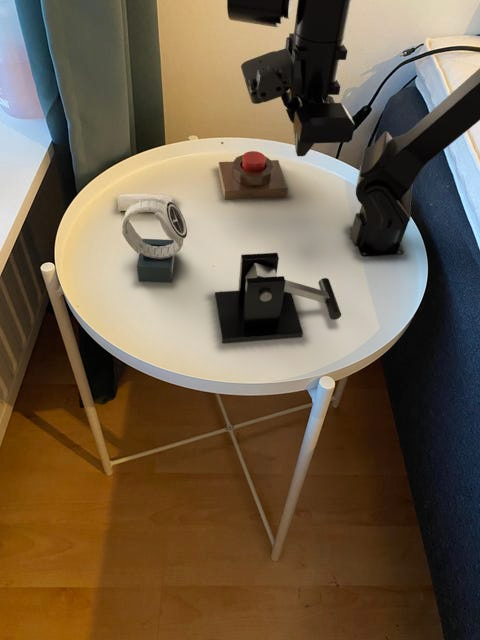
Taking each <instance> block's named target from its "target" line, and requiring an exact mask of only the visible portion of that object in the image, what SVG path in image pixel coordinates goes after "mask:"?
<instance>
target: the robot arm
mask: <svg viewBox="0 0 480 640" xmlns="http://www.w3.org/2000/svg"><path fill="white" fill-rule="evenodd" d="M226 1H227V2H226V9H227V16H228V19H229V20H230V21H234V22H240V23H246V24H247V23H248V24H252V25H259V26H266V27H272V28H279V27H280V25H281V24H282V21H283V18H284V19H286V20H287V19H288V20H289V19H291V17H292V13H293V9H294V4H295V0H226ZM351 4H352V0H297V4H296V5H297V6H296V14H295V21H294V22H295V23H294V30H293V33H288V34H289V35H288V37H287V36H286V39H285V46H284V48H282V49H278V50H275V51H273V50H272V51H270V52H267V53H264V54H261V55H259V56H257V57H254V58H251V59H248V60H246V61H244V62H243V63H241V65H240V69H241V72H242V76H243V79H244V82H245V86H246V89H247V92H248V95H249V98H250V102H251V103H252V104H255V105H259V104H262V103H267V102H270V101H273V100H276V99H278V98H280V99H281V101H282V103H283V106H284V107H285V108H286V109H285V111H286V114H287V117H288V119H289V121H290V123H292V129H293V138H294V149H295V154H296V156H297V157H305V156H306V155H307V154H308V152H309V151H310V150H311V149H312V147H314V145H315V144H341V143H350V142H351V141H352V140H353V136H354V131H355V129H356V128H355V127H356V124H355V122H354V120H353V118H352V117H351V115H350V112H349V111H348V109H347V108H346V107H345V105H344V104H343V103H342V102H336V101H335V99H334V97H333V96H339V95H340V92H341V85H340V83H339V81H338V79H337V78H338V72H339V67H340V62H341V61H346V60H347V55H348V49H347V48H346V46H345V44H344V40H345V37H346V30H347V25H348V20H349V14H350V8H351ZM478 122H480V67H479V68H478V69H476V71H475V72H474V73H472V74H471V75H470V76H469V77H468V78H467V79H466V80H465V81H463V82H462V83H461V84H460V85H459V86H458V87H457V88H456V89H455V90H453V91H452V92H451V93H450V94H449V95H448V96H446V98H444V99H443V100H442V101H441V102H440V103H439V104H437V105H436V107H434V108H433V109H432V110H431V111H430V112H429V113H428V114H426V115H425V116H424V117H423V118H422V119H421V120H419V121H418V122H417V123H416V124H415V125H414V126H413V127H412V128H411V129H410V130H409V131H407V132H406V133H404V134H401V135H399V136H395V137H392V135H390V133H389V132H388V131H384V132H383V133H382V134H381V135H380V137H379V138H378V139H377V140H376V141H375V143H373V144H372V145H370V146H368V147H365V149H364V151H363V157H362V159H361V162H360V166H359V171H358V175H357V181H356V185H355V196H356V198H357V201H358V202H359V203H360V204H361V206H360V208H359V212H356V214H355V215H354V219H353V224H352V226H350V228H349V231H350V238H351V240H352V242H353V245H354V247H355V248H357V249H358V252H359V254H360V256H361V257H381V256H382V257H383V256H384V257H385V256H399V255H404V253H405V250H404V249H403V246H402V245H401V244H402V243H403V242H402V241H403V239H404V236H405V233H406V230H407V228H408V225H409V222H410V220H411V218H412V217H411V216H412V213H411V208H412V196H413V184H414V183H415V181H416V180H417V178H418V177H419V175H420V174H421V172H422V171H423V169H424V167H425V166H426V165H427V164H428V163H429V162H431V161H432V160H433V159H434V158H436V157H437V156H438V155H439V154H440V153H442V152H443V151H444V150H446V149H447V148H448V147H449V146H450V145H451V144H453V143H454V142H455V141H456V140H458V139H459V138H460V137H461V136H462V135H464V134H465V133H466V132H467V131H468V130H470V129H471V128H472V127H474V126H475V125H476V124H477V123H478Z"/></svg>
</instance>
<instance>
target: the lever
mask: <svg viewBox="0 0 480 640" xmlns="http://www.w3.org/2000/svg"><path fill="white" fill-rule="evenodd" d="M245 277H246V279H247V278H262V277H278V275H277V274H276V271H275V269H274V268H271V267H267V266H264V265H261V264H257V263H254V265H253V266H252V268H251V269H250V271H249V272H248V273H247V275H246V276H245ZM318 286H319V288H315V287H312V286H308V285H305V284H302V283H298V282H294V281H291V280H288V279H285V288H284V292H288V293H291V294H292V295H295V296H299V297H302V298H305V299H310V300H313V301H316V302H320V303H323V304H325V307H326V311H327V313H328V316H329V318H330V320H332V321H333V320H334V321H336V320H338V319H340V318H341V317H342V312H341V309H340V306H339V303H338V300H337V298H336V296H335V292H334V289H333V287H332V284H331V281H330V279H329V278H328V277H323V278H320V279H319V281H318Z"/></svg>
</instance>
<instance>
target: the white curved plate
mask: <svg viewBox="0 0 480 640" xmlns="http://www.w3.org/2000/svg"><path fill="white" fill-rule="evenodd" d="M147 198H152V199H162V200H165V201H166V202H169V201H171V202H173V198H172V197H170V196H167V195H161V194H149V193H124V194H120V195H118V196H117V208H118V212H126V210H127V209H128V207H129V206H130V205H132V204H133V203H134V202H136V201H138V200H141V199H147ZM149 213H152V212H151V211H150V212H149Z"/></svg>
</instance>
